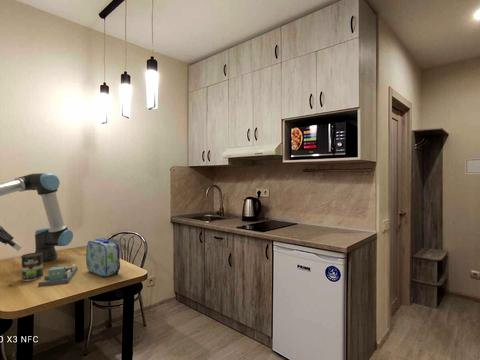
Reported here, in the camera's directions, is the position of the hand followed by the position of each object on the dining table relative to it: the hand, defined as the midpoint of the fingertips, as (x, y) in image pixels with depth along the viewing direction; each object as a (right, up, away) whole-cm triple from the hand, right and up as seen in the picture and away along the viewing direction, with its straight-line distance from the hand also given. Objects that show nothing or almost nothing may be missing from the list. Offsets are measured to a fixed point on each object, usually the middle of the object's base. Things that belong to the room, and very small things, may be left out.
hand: (20, 248), depth 158 cm
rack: (+14, -20, +12) cm, 27 cm away
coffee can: (-2, -21, +12) cm, 24 cm away
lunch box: (+37, -20, +19) cm, 46 cm away
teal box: (+17, -20, +6) cm, 27 cm away
